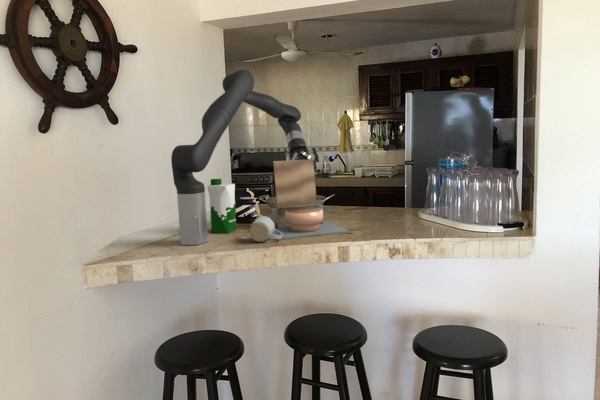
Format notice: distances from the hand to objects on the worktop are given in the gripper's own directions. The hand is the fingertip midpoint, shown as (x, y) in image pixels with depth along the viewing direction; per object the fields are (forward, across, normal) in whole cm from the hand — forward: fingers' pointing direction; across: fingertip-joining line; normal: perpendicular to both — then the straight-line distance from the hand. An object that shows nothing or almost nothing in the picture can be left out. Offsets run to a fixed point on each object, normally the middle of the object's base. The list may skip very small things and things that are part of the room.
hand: (304, 172), depth 181 cm
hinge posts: (+19, -8, +9) cm, 22 cm away
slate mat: (+22, -6, +6) cm, 24 cm away
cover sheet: (+7, -4, -2) cm, 8 cm away
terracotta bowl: (+24, -6, +4) cm, 25 cm away
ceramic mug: (+32, -18, -8) cm, 38 cm away
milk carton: (+16, -35, +3) cm, 39 cm away
